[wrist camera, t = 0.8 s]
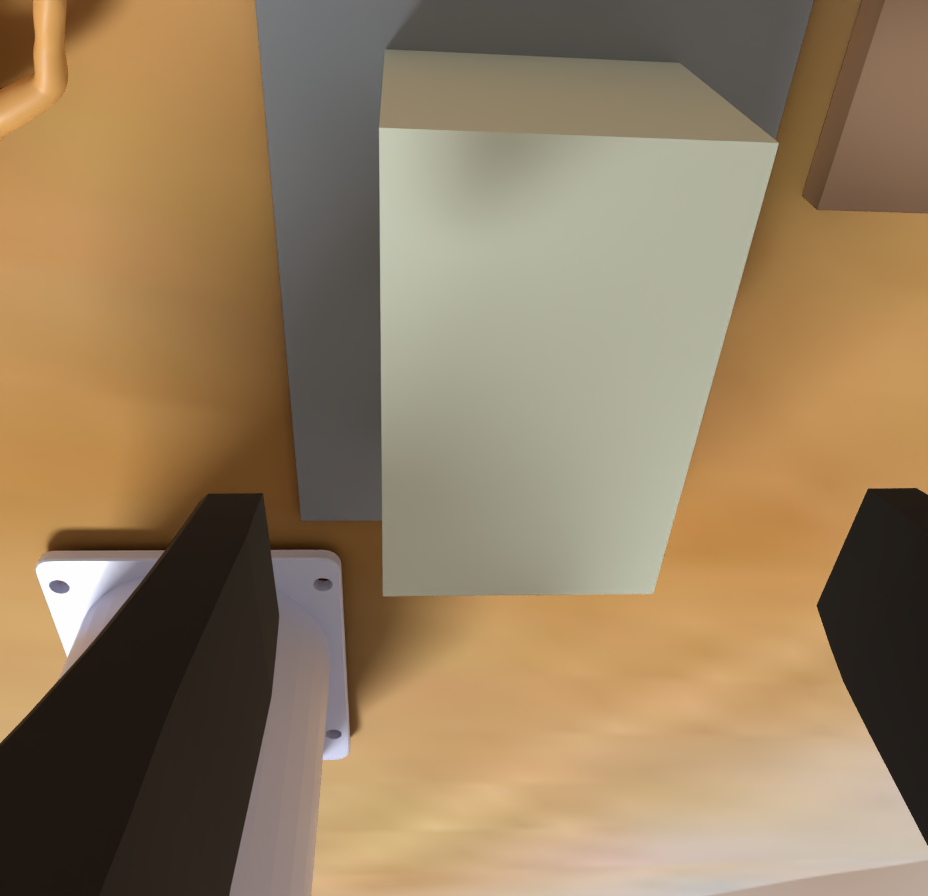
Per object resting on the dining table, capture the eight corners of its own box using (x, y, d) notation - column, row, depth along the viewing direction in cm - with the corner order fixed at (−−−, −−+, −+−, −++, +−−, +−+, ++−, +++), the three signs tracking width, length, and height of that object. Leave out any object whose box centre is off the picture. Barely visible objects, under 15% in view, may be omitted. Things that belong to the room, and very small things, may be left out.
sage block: (603, 447, 21) (652, 593, 17) (386, 445, 20) (382, 596, 16) (680, 62, 15) (779, 143, 11) (385, 49, 15) (379, 127, 11)
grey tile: (668, 515, 22) (670, 520, 22) (301, 515, 22) (300, 521, 21) (833, -91, 14) (839, -90, 14) (245, -128, 13) (244, -128, 13)
